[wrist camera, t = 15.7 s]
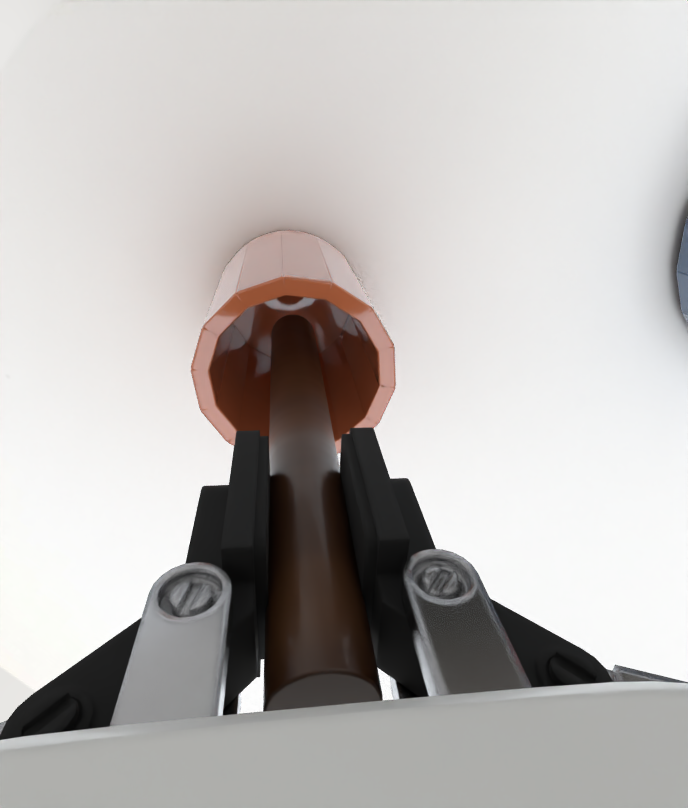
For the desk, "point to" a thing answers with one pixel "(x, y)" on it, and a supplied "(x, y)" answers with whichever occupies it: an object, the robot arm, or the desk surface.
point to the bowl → (683, 272)
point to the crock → (252, 327)
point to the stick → (310, 544)
